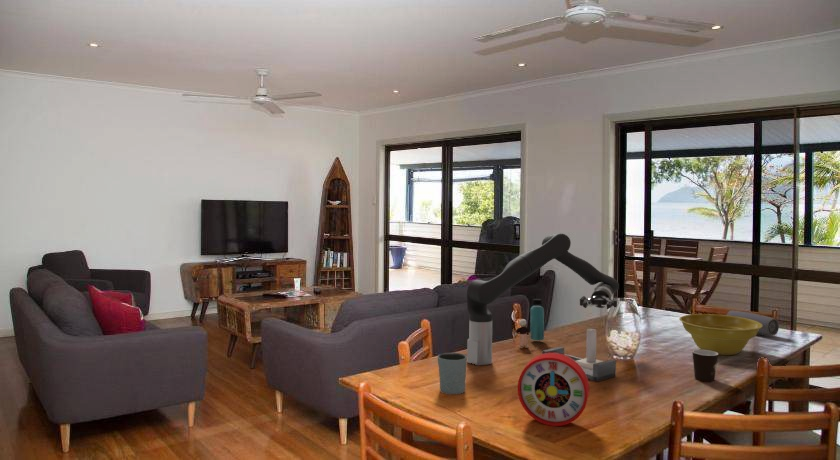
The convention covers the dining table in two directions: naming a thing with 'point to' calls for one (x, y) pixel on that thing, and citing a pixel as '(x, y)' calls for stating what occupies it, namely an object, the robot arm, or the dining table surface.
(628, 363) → the dining table surface
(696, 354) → the coffee mug
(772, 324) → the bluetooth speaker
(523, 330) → the grandmother figurine
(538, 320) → the beverage bottle
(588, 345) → the carriage
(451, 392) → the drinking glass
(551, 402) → the toy clock
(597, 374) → the gray tray
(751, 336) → the planter bowl
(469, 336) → the robot arm
